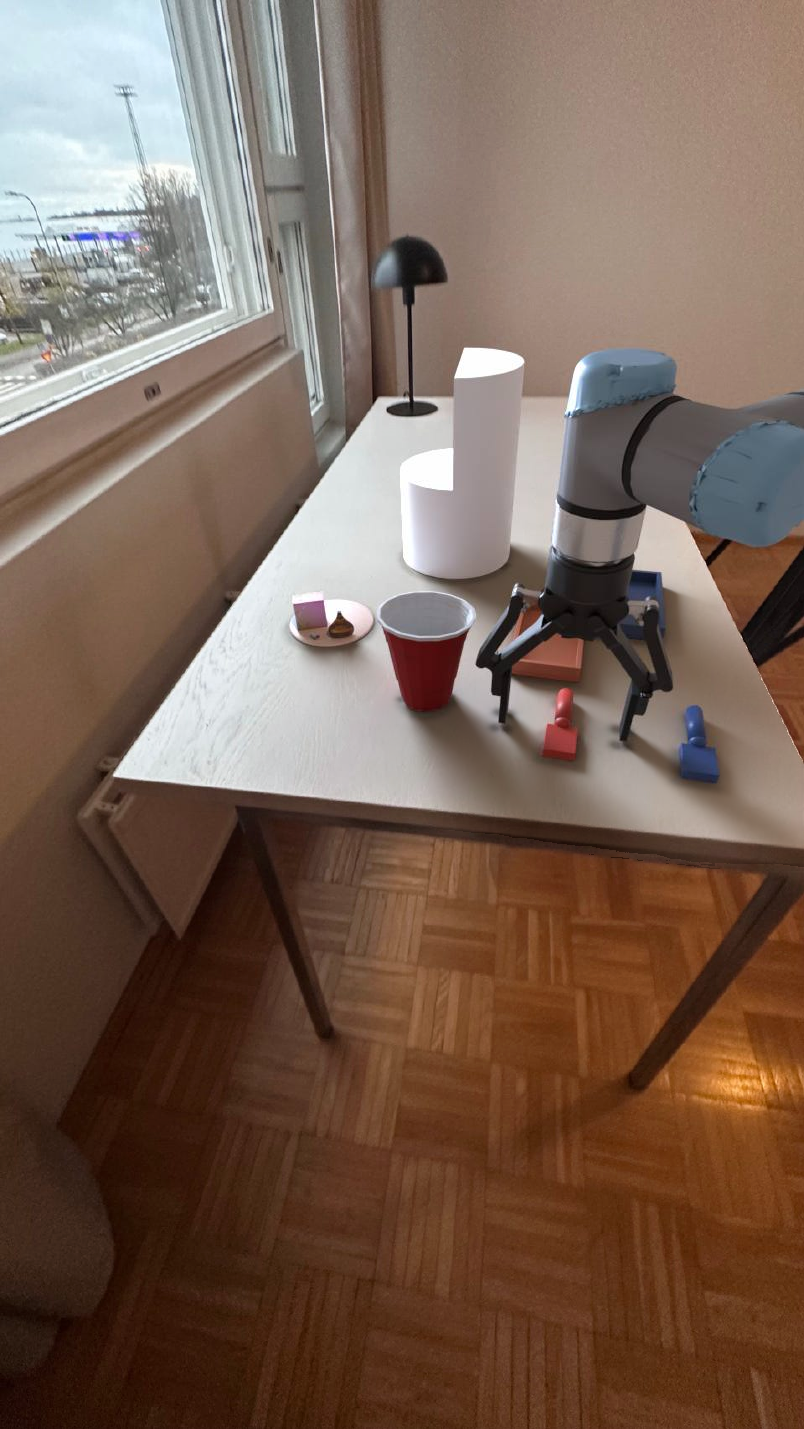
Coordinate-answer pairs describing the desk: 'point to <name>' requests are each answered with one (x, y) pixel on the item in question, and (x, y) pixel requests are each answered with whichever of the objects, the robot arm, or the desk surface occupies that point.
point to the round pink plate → (328, 620)
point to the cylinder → (467, 474)
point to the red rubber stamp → (561, 730)
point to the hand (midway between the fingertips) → (562, 724)
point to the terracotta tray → (549, 653)
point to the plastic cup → (425, 644)
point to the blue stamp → (697, 750)
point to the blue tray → (639, 590)
